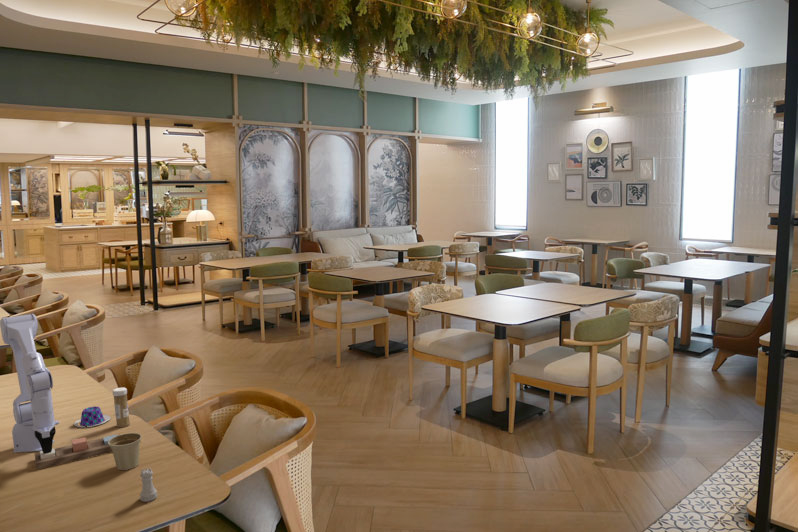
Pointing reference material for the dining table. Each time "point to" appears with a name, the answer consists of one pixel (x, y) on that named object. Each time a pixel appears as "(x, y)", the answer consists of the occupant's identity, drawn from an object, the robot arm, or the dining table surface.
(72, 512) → the dining table surface
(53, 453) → the white key
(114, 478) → the dining table surface
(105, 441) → the blue key
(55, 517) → the dining table surface
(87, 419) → the purple domed brimmed piece
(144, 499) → the rook chess piece
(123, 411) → the sprinkles bottle
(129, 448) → the flower pot
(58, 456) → the board
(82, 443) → the brick key
